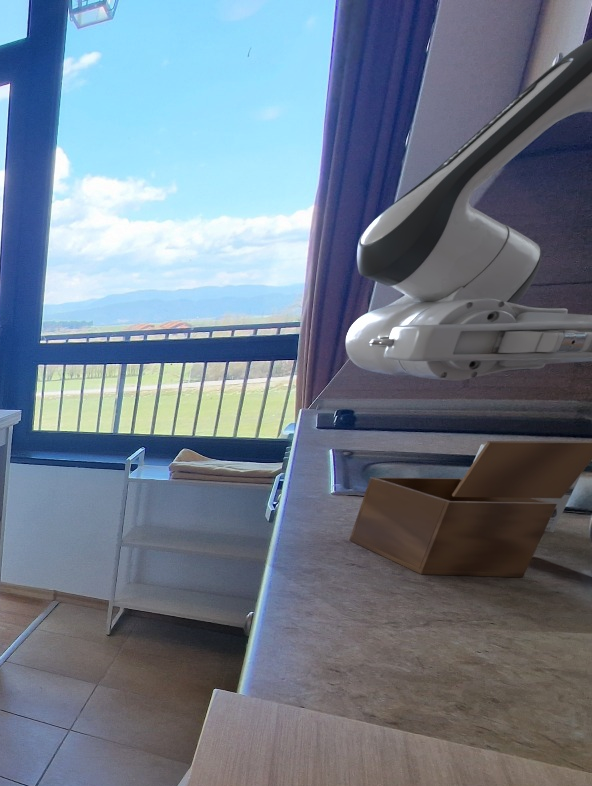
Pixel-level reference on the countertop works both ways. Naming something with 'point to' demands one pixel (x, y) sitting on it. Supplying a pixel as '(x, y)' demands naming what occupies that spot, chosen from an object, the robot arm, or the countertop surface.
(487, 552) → the carton
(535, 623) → the countertop surface
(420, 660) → the countertop surface
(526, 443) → the flap
